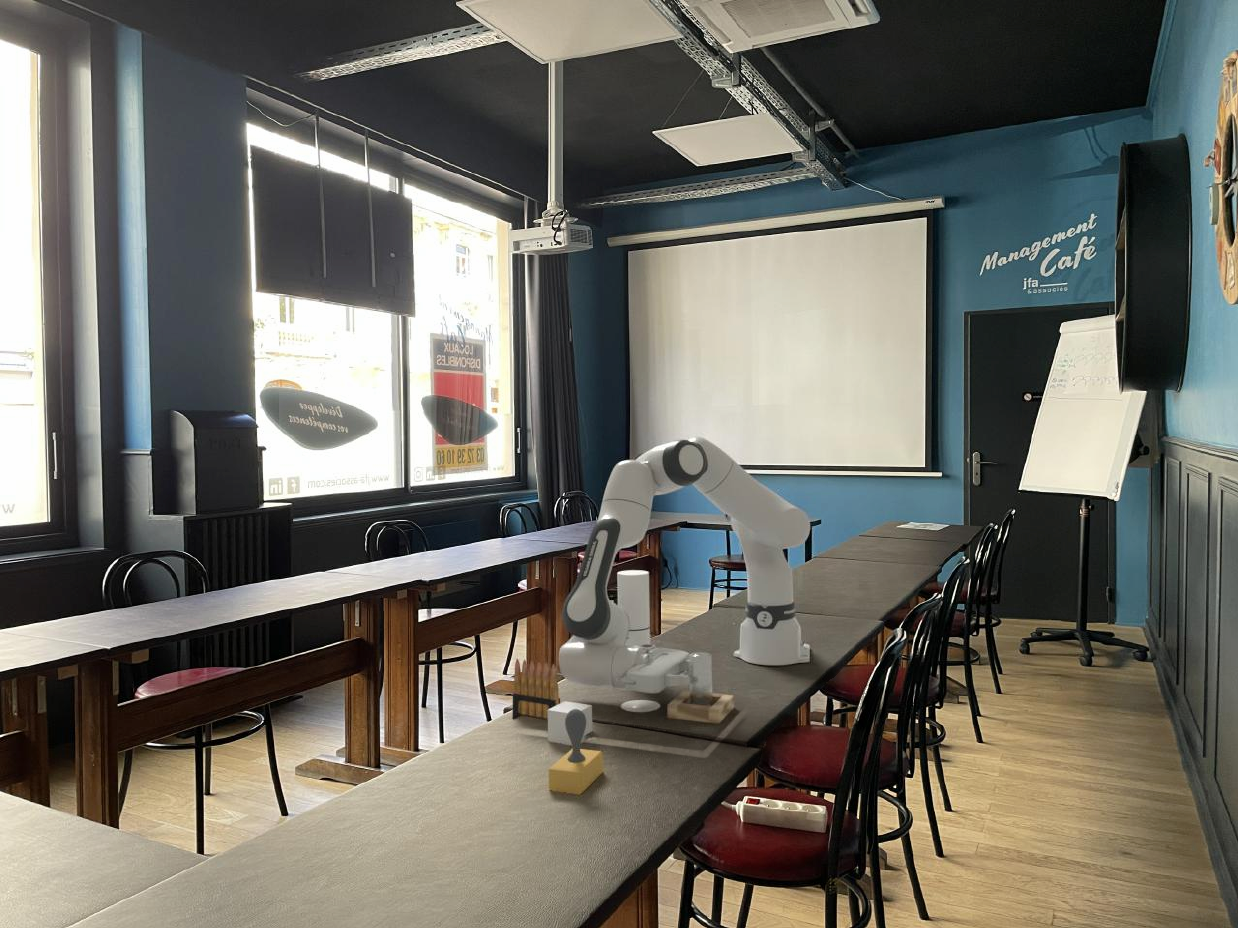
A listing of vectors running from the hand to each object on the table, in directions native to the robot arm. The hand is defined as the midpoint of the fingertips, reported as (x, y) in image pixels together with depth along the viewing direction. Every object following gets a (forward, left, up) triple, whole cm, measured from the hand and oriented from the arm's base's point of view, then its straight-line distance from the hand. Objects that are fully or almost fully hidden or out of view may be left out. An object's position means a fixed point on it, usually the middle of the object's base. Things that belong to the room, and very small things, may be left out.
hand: (697, 674), depth 180 cm
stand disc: (0, -12, -9) cm, 15 cm away
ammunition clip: (+13, -29, -9) cm, 33 cm away
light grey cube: (+20, -18, -9) cm, 29 cm away
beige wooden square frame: (0, +1, -9) cm, 9 cm away
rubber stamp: (+38, -8, -9) cm, 40 cm away
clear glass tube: (0, +1, -8) cm, 8 cm away
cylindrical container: (-19, -21, -9) cm, 30 cm away
